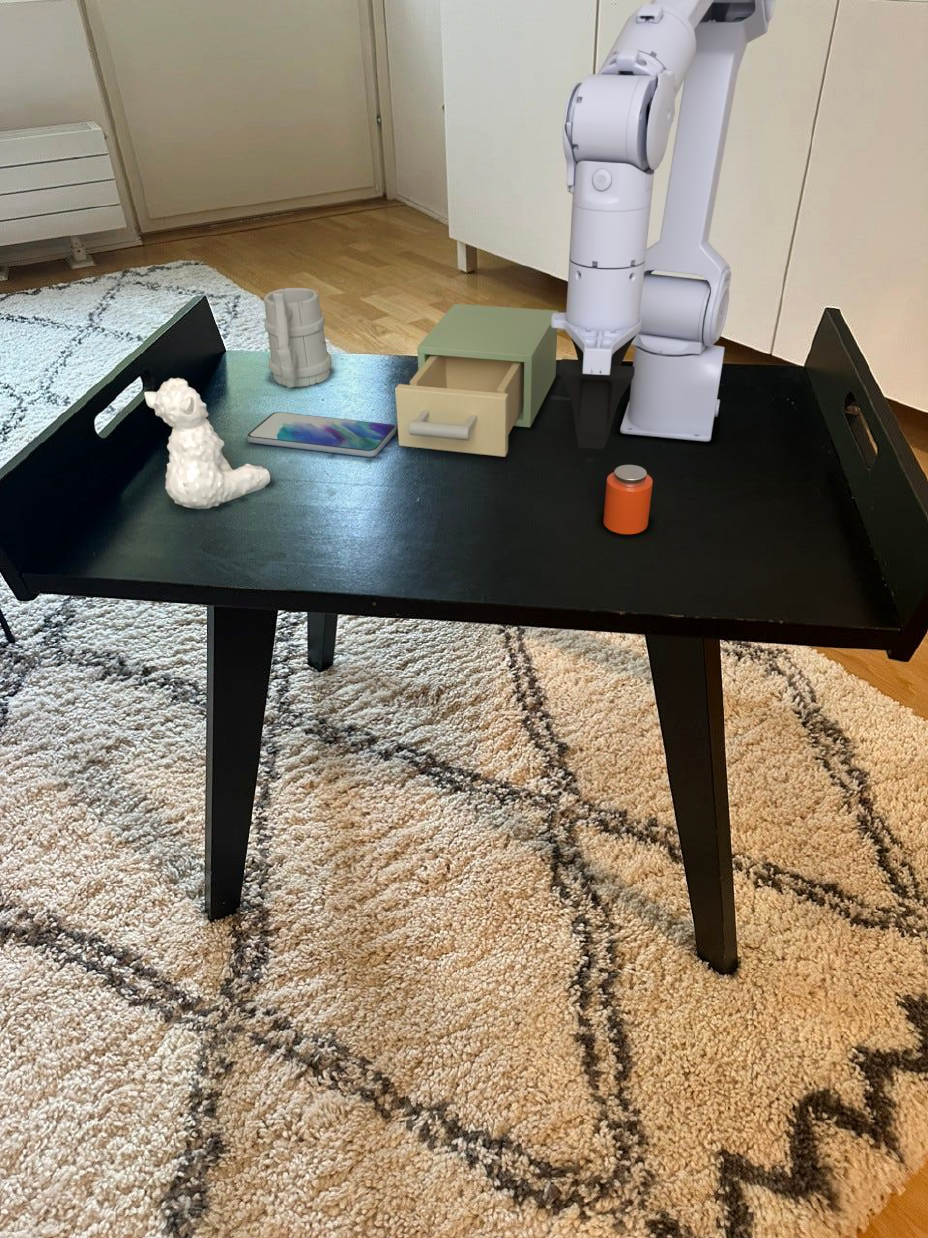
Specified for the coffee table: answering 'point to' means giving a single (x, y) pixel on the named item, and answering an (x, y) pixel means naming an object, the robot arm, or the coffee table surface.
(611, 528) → the orange cylinder
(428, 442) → the drawer
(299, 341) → the mug
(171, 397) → the white creature statuette
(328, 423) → the smartphone
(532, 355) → the cabinet
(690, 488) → the coffee table surface
